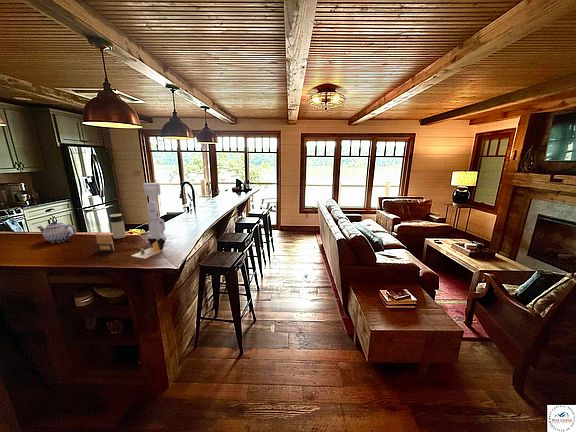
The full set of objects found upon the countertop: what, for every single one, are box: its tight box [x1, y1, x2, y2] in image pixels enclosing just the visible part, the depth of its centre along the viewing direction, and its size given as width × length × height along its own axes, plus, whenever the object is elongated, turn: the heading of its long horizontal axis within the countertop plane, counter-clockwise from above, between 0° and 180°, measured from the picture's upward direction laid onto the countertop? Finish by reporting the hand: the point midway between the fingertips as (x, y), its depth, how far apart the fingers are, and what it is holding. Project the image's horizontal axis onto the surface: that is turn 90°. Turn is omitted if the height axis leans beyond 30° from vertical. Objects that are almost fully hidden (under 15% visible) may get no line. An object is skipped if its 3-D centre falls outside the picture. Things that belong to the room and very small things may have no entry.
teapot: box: [36, 220, 77, 244], centre depth 168 cm, size 25×15×15 cm, turn 93°
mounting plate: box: [131, 246, 168, 259], centre depth 148 cm, size 12×18×5 cm, turn 162°
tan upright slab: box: [96, 233, 116, 253], centre depth 151 cm, size 11×2×12 cm, turn 87°
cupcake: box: [152, 241, 164, 252], centre depth 151 cm, size 6×6×5 cm
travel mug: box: [109, 213, 127, 240], centre depth 176 cm, size 8×8×18 cm
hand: (158, 248), depth 151 cm, fingers closed on cupcake, 5 cm apart
